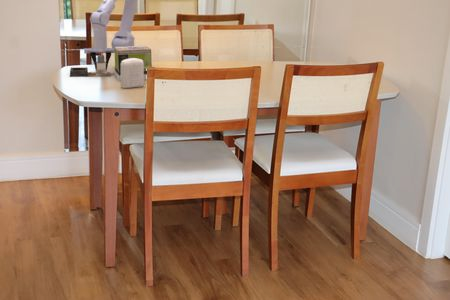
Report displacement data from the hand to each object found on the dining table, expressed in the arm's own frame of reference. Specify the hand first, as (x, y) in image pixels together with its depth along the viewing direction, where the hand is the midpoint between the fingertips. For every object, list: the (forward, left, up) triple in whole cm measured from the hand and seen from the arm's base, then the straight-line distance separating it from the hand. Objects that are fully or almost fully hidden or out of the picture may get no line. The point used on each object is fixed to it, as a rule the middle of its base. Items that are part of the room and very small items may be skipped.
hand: (101, 68), depth 286 cm
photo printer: (+3, +24, -4) cm, 25 cm away
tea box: (-6, +15, -4) cm, 17 cm away
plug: (0, 0, -2) cm, 2 cm away
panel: (+4, -3, -3) cm, 6 cm away
